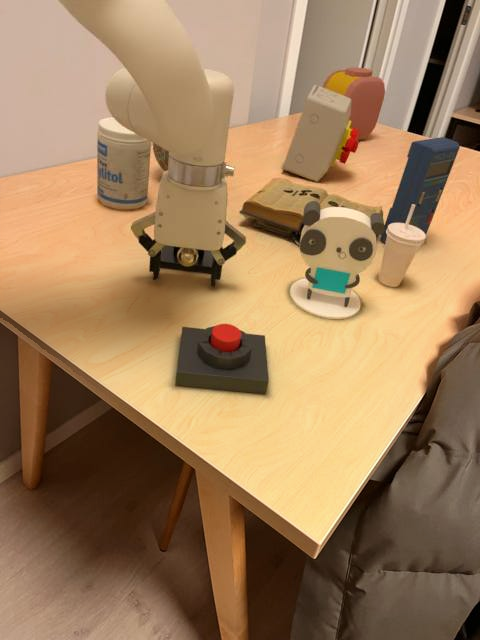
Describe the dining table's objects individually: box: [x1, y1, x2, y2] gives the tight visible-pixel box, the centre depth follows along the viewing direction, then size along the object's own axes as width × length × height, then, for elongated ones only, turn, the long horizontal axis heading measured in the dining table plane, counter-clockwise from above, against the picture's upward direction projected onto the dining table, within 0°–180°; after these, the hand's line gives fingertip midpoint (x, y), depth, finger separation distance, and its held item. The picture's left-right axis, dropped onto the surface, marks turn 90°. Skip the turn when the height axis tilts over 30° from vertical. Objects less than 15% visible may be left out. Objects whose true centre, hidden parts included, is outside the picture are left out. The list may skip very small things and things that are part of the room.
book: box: [238, 177, 384, 246], centre depth 103 cm, size 25×17×6 cm
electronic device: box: [380, 136, 461, 244], centre depth 101 cm, size 10×5×20 cm, turn 129°
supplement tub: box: [96, 116, 152, 211], centre depth 99 cm, size 10×10×15 cm
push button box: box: [174, 325, 270, 395], centre depth 66 cm, size 11×9×4 cm
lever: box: [177, 247, 198, 266], centre depth 82 cm, size 13×3×3 cm
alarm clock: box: [322, 67, 386, 141], centre depth 158 cm, size 18×11×19 cm, turn 130°
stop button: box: [211, 323, 242, 352], centre depth 65 cm, size 4×4×2 cm
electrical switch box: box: [281, 84, 360, 183], centre depth 128 cm, size 15×15×20 cm
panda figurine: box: [289, 201, 385, 320], centre depth 80 cm, size 12×11×15 cm
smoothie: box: [378, 204, 427, 288], centre depth 88 cm, size 6×6×14 cm
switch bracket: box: [160, 245, 214, 274], centre depth 86 cm, size 11×9×12 cm
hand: (184, 278), depth 82 cm, fingers open, 8 cm apart
